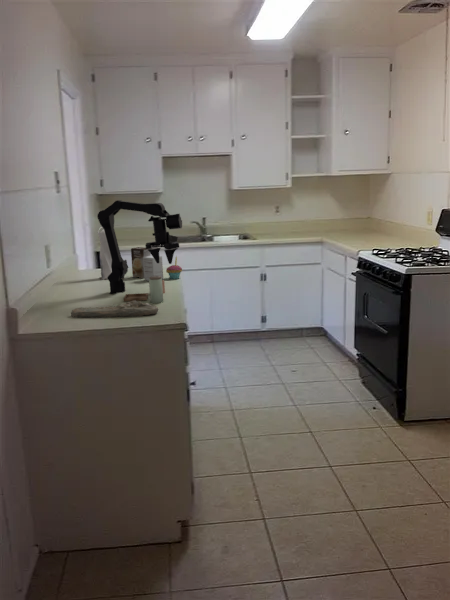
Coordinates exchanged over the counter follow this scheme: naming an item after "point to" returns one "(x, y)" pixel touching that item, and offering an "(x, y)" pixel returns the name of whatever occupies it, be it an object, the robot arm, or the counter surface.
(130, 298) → the walnut tray
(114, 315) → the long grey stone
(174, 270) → the cupcake
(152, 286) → the spice jar
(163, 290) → the terracotta cup
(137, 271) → the coffee box
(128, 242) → the counter surface
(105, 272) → the skyscraper
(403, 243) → the counter surface
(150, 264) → the supplement box
